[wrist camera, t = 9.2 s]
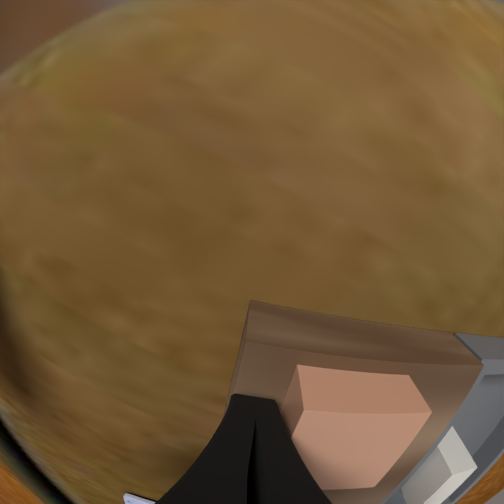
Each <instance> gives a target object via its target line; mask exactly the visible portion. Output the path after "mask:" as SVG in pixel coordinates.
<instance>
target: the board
mask: <svg viewBox="0 0 504 504" xmlns="http://www.w3.org/2000/svg"><path fill="white" fill-rule="evenodd" d="M297 365H304V366H312V367H320V368H328V369H336V370H346V371H356V372H367V373H380V374H396V375H409V376H410V378H411V379H412V381H413V383H414V384H415V386H416V387H417V389H418V390H419V392H420V393H421V395H422V397H423V398H424V400H425V401H426V403H427V405H428V406H429V408H430V409H431V411H432V413H431V415H430V416H429V418H428V419H427V421H426V422H425V424H424V425H423V427H422V428H421V429H420V431H419V432H418V434H417V435H416V436H415V438H414V439H413V441H412V442H411V443H410V445H409V446H408V447H407V449H406V450H405V451H404V452H403V454H402V455H401V456H400V458H399V459H398V460H397V461H396V462H395V464H394V465H393V466H392V467H391V468H390V470H389V471H388V472H387V473H386V474H385V475H384V477H383V478H382V479H381V480H380V481H379V482H378V483H377V484H376V486H375V487H369V488H356V489H335V490H322V491H323V492H324V494H325V495H326V496H327V497H328V499H329V500H330V501H331V502H332V504H379V503H381V502H382V501H383V500H384V499H385V498H386V497H387V496H388V495H389V494H390V493H391V492H392V491H393V490H394V489H395V488H396V487H397V486H398V485H399V484H400V482H401V481H402V480H403V479H404V478H405V477H406V476H407V475H408V474H409V473H410V472H411V470H412V469H413V468H414V467H415V466H416V465H417V464H418V462H419V461H420V460H421V459H422V458H423V456H424V455H425V454H426V453H427V452H428V450H429V449H430V448H431V447H432V445H433V444H434V443H435V441H436V440H437V439H438V437H439V436H440V435H441V433H442V432H443V431H444V429H445V428H446V427H447V425H448V424H449V422H450V421H451V419H452V418H453V416H454V415H455V414H456V412H457V411H458V409H459V407H460V406H461V404H462V403H463V401H464V400H465V398H466V396H467V395H468V393H469V391H470V390H471V388H472V386H473V385H474V383H475V381H476V379H477V378H478V376H479V374H480V372H481V370H482V369H483V367H484V365H483V364H482V363H481V362H480V361H479V360H478V359H477V358H476V357H475V356H474V355H473V354H472V353H471V352H470V351H469V350H468V349H467V348H466V347H465V346H464V345H463V344H462V343H461V342H460V341H459V340H458V339H457V338H456V337H455V336H454V335H453V334H452V333H450V332H441V331H433V330H425V329H418V328H410V327H403V326H396V325H389V324H382V323H375V322H369V321H362V320H356V319H350V318H344V317H338V316H332V315H326V314H321V313H315V312H309V311H304V310H298V309H293V308H288V307H283V306H277V305H272V304H267V303H262V302H257V301H252V300H250V304H249V308H248V312H247V317H246V321H245V326H244V330H243V334H242V339H241V343H240V348H239V352H238V356H237V361H236V365H235V369H234V374H233V378H232V382H231V387H230V391H229V395H228V400H227V404H226V408H225V412H224V415H225V413H226V411H227V408H228V406H229V402H230V398H231V395H233V394H235V393H237V394H243V395H248V396H254V397H260V398H267V399H274V400H275V401H276V403H277V405H278V408H279V411H280V410H281V407H282V405H283V402H284V399H285V397H286V394H287V391H288V389H289V386H290V383H291V380H292V377H293V375H294V372H295V369H296V366H297Z"/></svg>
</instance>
